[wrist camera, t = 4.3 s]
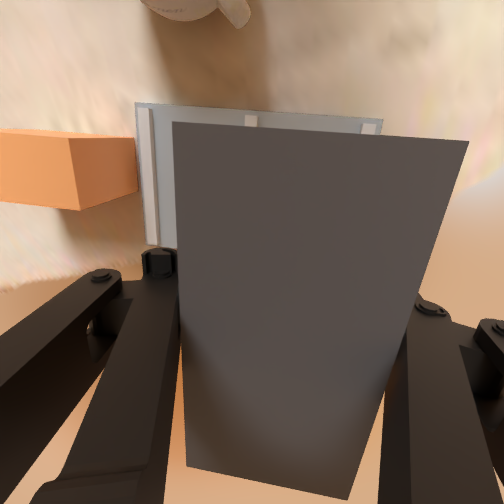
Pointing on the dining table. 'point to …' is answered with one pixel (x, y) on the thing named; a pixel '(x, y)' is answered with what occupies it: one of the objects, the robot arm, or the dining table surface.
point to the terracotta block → (65, 168)
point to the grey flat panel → (161, 116)
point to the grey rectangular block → (297, 290)
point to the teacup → (201, 9)
